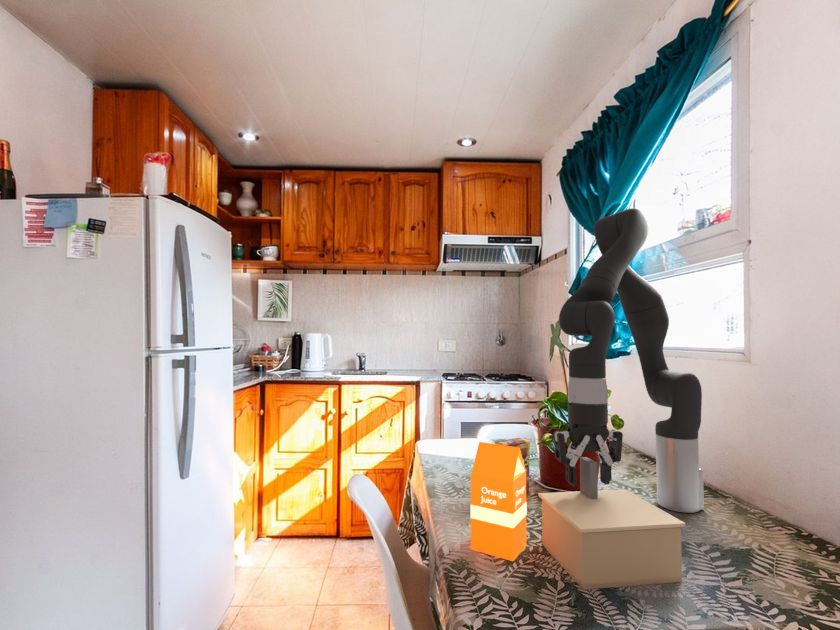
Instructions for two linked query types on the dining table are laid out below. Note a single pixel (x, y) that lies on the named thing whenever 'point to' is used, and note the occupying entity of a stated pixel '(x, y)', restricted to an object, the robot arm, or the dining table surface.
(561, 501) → the carton lid
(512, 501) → the orange juice
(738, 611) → the dining table surface
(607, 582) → the carton
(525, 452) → the candy box
